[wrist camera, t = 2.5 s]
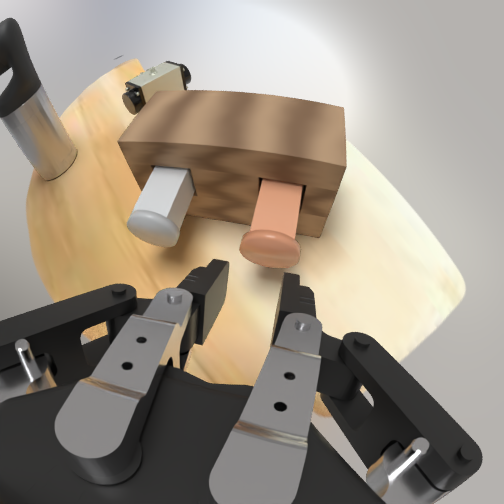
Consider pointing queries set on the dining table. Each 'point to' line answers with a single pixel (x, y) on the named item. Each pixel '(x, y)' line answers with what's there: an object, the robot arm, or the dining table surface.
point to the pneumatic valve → (154, 84)
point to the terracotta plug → (274, 226)
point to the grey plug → (162, 206)
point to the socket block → (241, 150)
